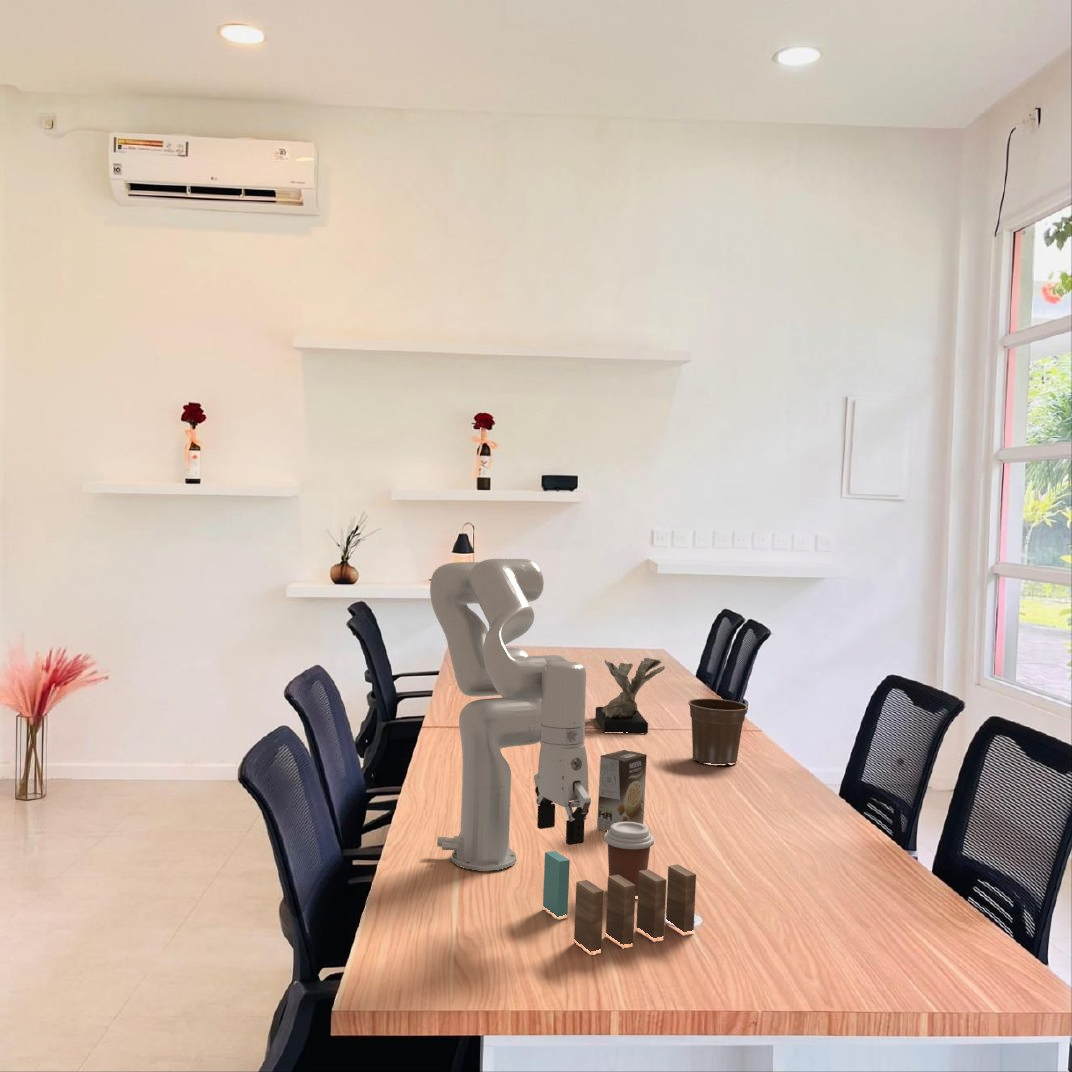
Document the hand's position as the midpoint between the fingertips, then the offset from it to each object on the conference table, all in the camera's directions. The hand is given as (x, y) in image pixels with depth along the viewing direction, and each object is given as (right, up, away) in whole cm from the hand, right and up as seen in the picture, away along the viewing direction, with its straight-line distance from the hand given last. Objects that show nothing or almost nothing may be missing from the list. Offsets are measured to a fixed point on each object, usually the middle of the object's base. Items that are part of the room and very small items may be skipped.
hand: (560, 835), depth 174 cm
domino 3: (+15, -15, -6) cm, 22 cm away
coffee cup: (+12, -14, +12) cm, 22 cm away
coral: (+26, -10, +152) cm, 155 cm away
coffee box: (+14, -13, +49) cm, 52 cm away
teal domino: (-1, -14, +1) cm, 14 cm away
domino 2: (+9, -14, -9) cm, 19 cm away
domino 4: (+20, -15, -3) cm, 25 cm away
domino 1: (+4, -14, -12) cm, 19 cm away
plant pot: (+46, -12, +110) cm, 120 cm away
